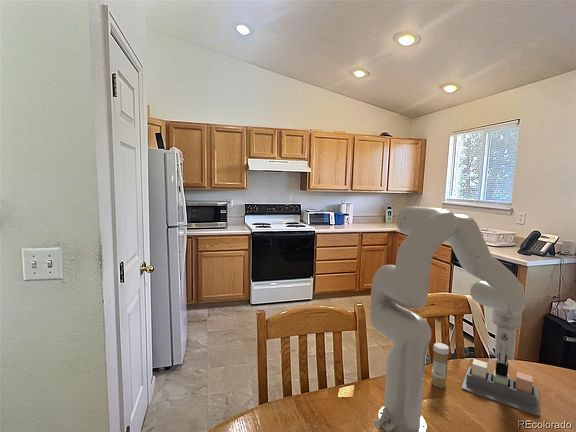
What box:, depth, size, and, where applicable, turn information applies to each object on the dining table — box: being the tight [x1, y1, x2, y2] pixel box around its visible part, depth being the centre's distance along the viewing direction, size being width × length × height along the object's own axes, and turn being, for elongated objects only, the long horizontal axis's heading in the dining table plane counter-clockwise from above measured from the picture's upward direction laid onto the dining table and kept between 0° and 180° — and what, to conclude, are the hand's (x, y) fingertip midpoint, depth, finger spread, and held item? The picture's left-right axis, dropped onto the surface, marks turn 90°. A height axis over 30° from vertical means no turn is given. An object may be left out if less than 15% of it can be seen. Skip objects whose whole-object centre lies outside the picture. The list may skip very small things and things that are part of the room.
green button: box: [493, 369, 510, 387], centre depth 103 cm, size 4×4×4 cm
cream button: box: [471, 358, 488, 380], centre depth 107 cm, size 4×4×4 cm
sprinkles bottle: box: [431, 342, 450, 389], centre depth 106 cm, size 5×5×14 cm
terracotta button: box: [515, 371, 534, 394], centre depth 100 cm, size 4×4×4 cm
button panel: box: [461, 365, 541, 418], centre depth 103 cm, size 14×20×4 cm
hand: (501, 374), depth 103 cm, fingers closed
